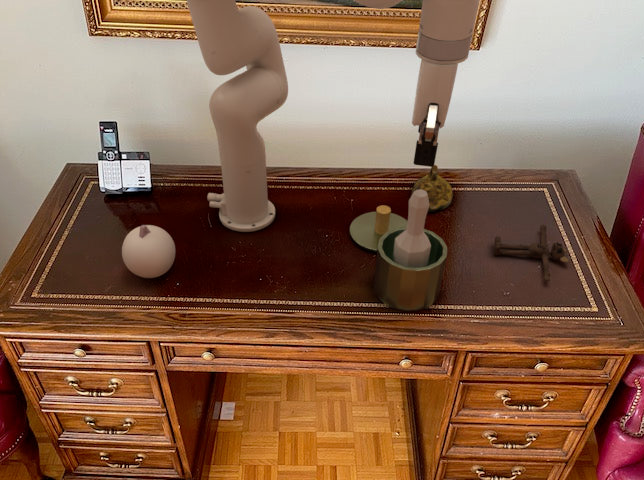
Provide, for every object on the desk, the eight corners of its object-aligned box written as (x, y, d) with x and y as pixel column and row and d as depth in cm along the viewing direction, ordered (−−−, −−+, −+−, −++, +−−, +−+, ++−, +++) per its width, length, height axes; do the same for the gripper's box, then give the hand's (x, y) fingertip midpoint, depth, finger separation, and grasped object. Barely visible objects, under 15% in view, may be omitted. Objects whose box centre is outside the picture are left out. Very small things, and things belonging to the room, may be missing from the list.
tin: (370, 306, 120) (374, 265, 113) (377, 263, 129) (382, 223, 122) (436, 315, 118) (445, 274, 111) (440, 272, 127) (448, 230, 120)
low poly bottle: (401, 301, 120) (415, 207, 105) (383, 281, 125) (394, 188, 109) (428, 291, 122) (446, 197, 107) (410, 272, 126) (425, 179, 111)
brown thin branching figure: (495, 213, 136) (568, 216, 132) (493, 229, 138) (564, 233, 135) (495, 268, 123) (575, 273, 120) (493, 284, 126) (571, 289, 122)
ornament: (165, 292, 124) (155, 245, 116) (118, 282, 127) (105, 235, 118) (186, 259, 131) (178, 212, 123) (141, 251, 134) (130, 204, 125)
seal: (452, 219, 141) (449, 181, 152) (458, 202, 138) (454, 164, 148) (411, 212, 141) (410, 175, 152) (416, 195, 138) (415, 158, 148)
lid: (344, 250, 132) (346, 225, 128) (354, 212, 142) (356, 187, 137) (410, 258, 130) (414, 233, 125) (415, 219, 140) (419, 194, 135)
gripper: (421, 18, 97) (407, 120, 109) (412, 67, 85) (397, 175, 97) (471, 22, 96) (451, 124, 108) (469, 72, 84) (446, 181, 96)
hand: (425, 148), depth 102 cm, fingers open, 9 cm apart
